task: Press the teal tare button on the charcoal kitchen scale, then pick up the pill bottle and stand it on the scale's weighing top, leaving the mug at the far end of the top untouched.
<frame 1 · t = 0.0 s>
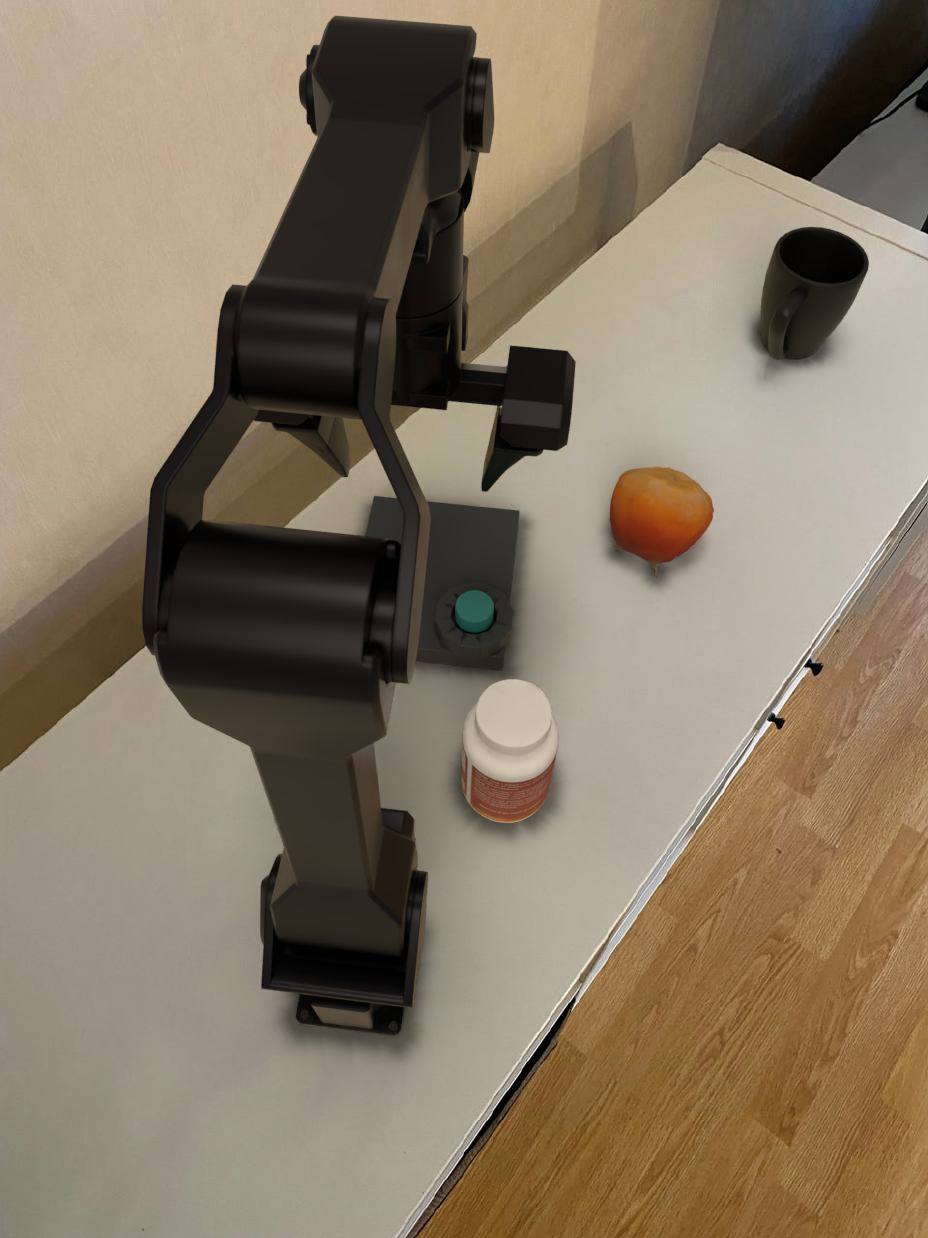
hand: (415, 479, 63), 15 cm above the table, tool pointing down, fingers open, 9 cm apart
scale: (435, 586, 77), on the table
pill bottle: (504, 784, 68), on the table
mug: (779, 352, 92), on the table
tare button: (474, 611, 71), point 4 cm above the table, slide at 0.1 cm
fruit: (650, 539, 80), on the table
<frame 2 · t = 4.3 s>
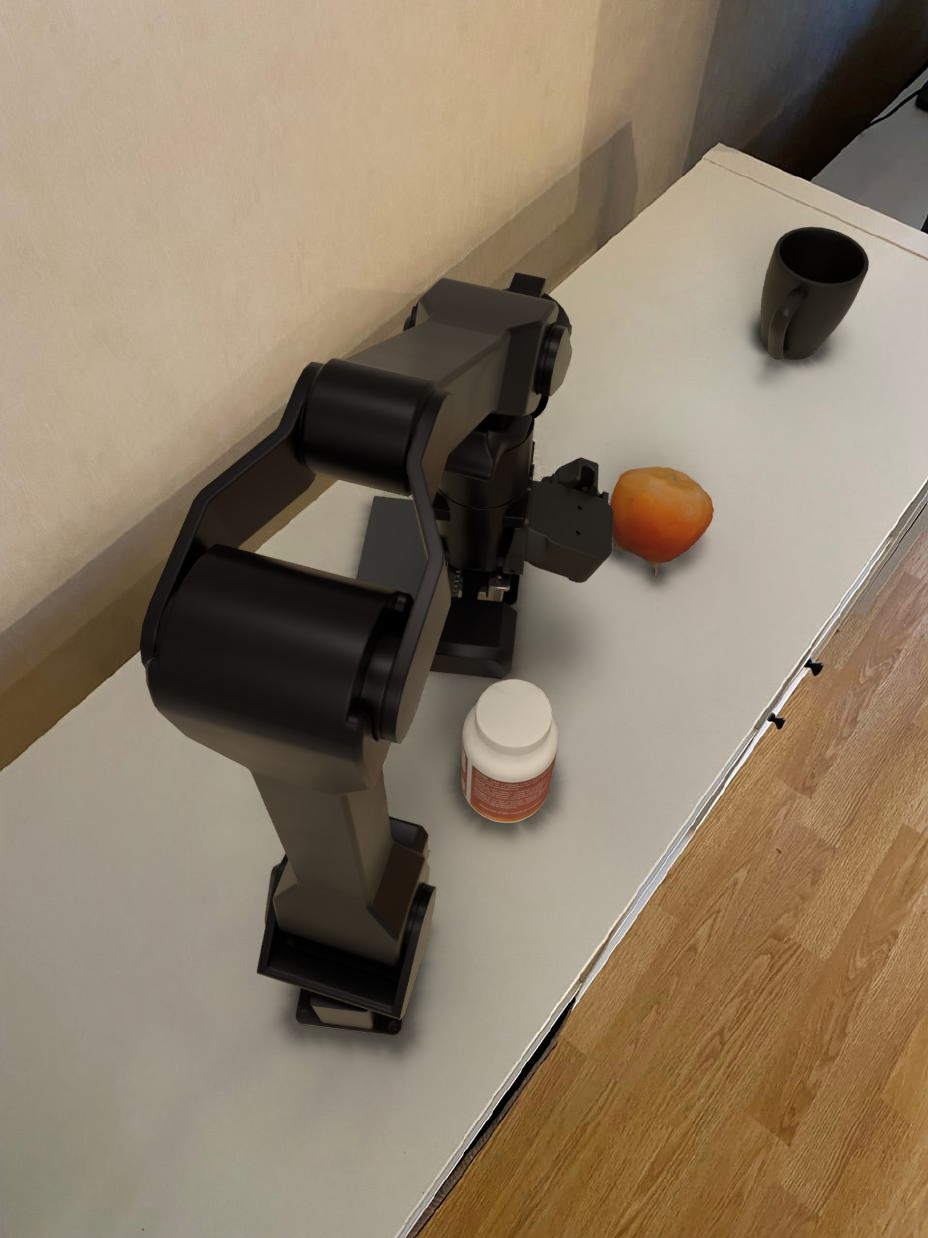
hand: (474, 612, 71), 4 cm above the table, tool pointing down, fingers closed, pressing on tare button
tare button: (474, 618, 71), point 3 cm above the table, slide at -0.8 cm, touching gripper
everything else where it was.
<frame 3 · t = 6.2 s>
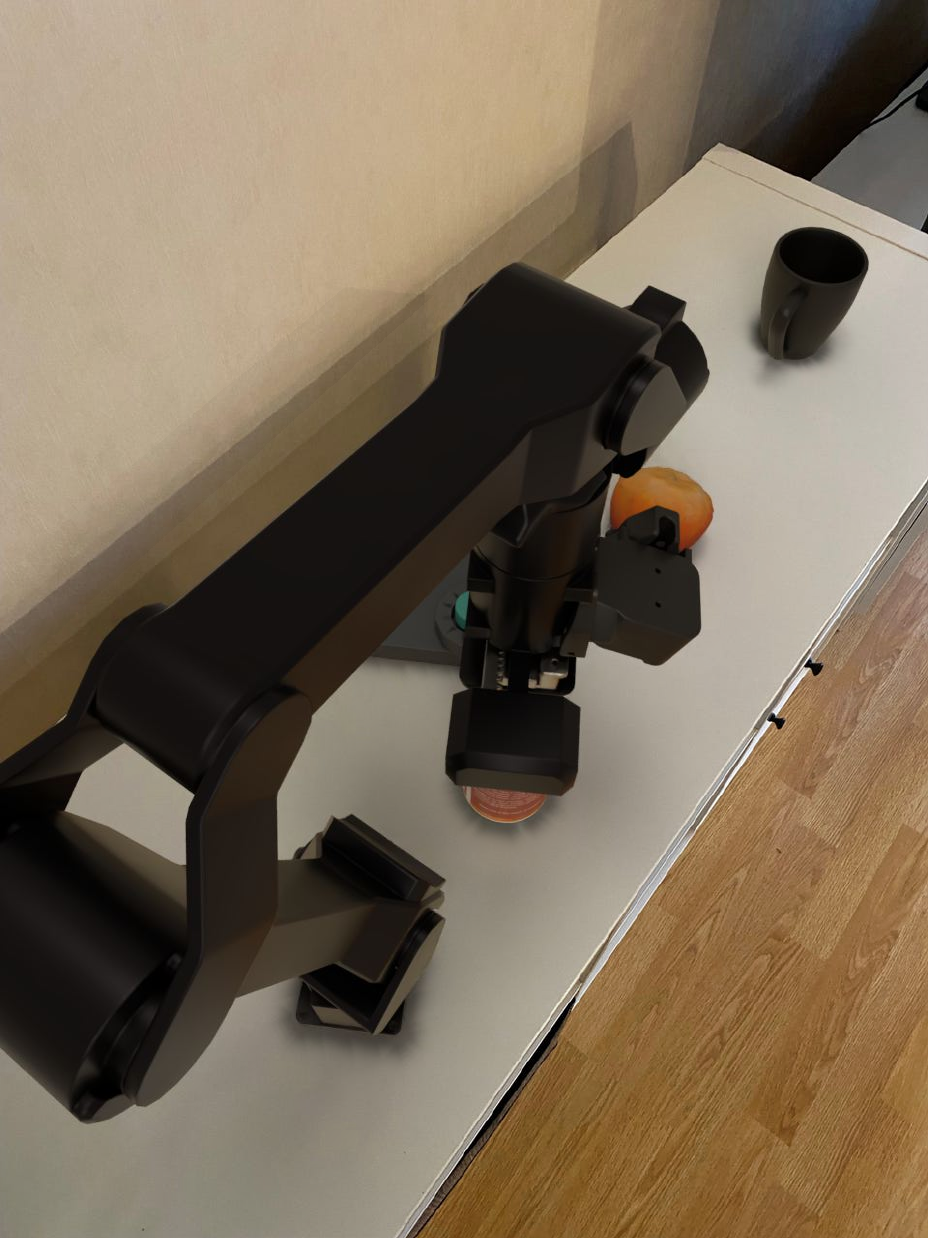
hand: (512, 692, 57), 13 cm above the table, tool pointing down, fingers closed
tare button: (474, 611, 71), point 4 cm above the table, slide at 0.1 cm
everything else where it was.
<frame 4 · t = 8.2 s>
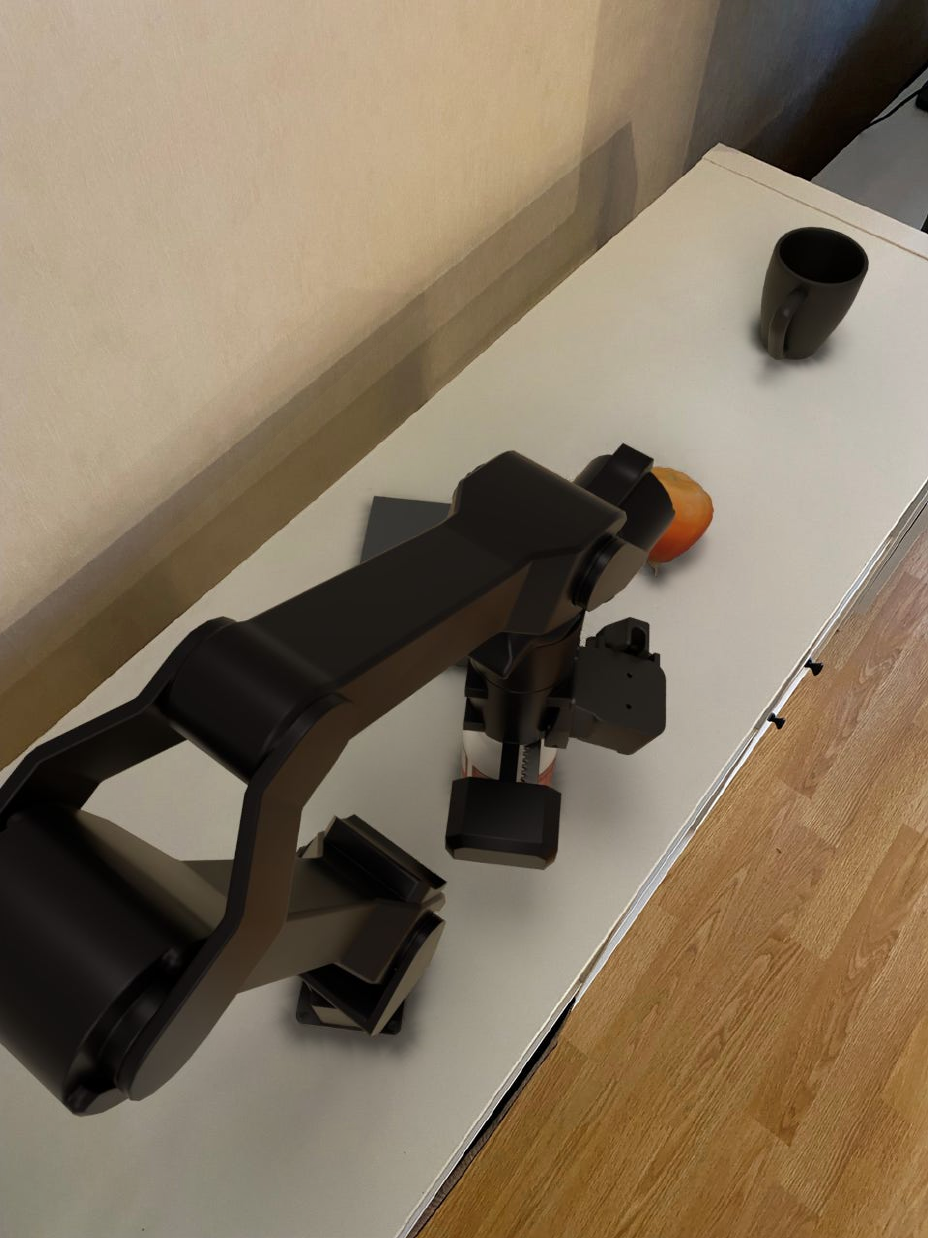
hand: (506, 764, 65), 3 cm above the table, tool pointing down
pill bottle: (504, 784, 68), on the table, touching gripper
everything else where it was.
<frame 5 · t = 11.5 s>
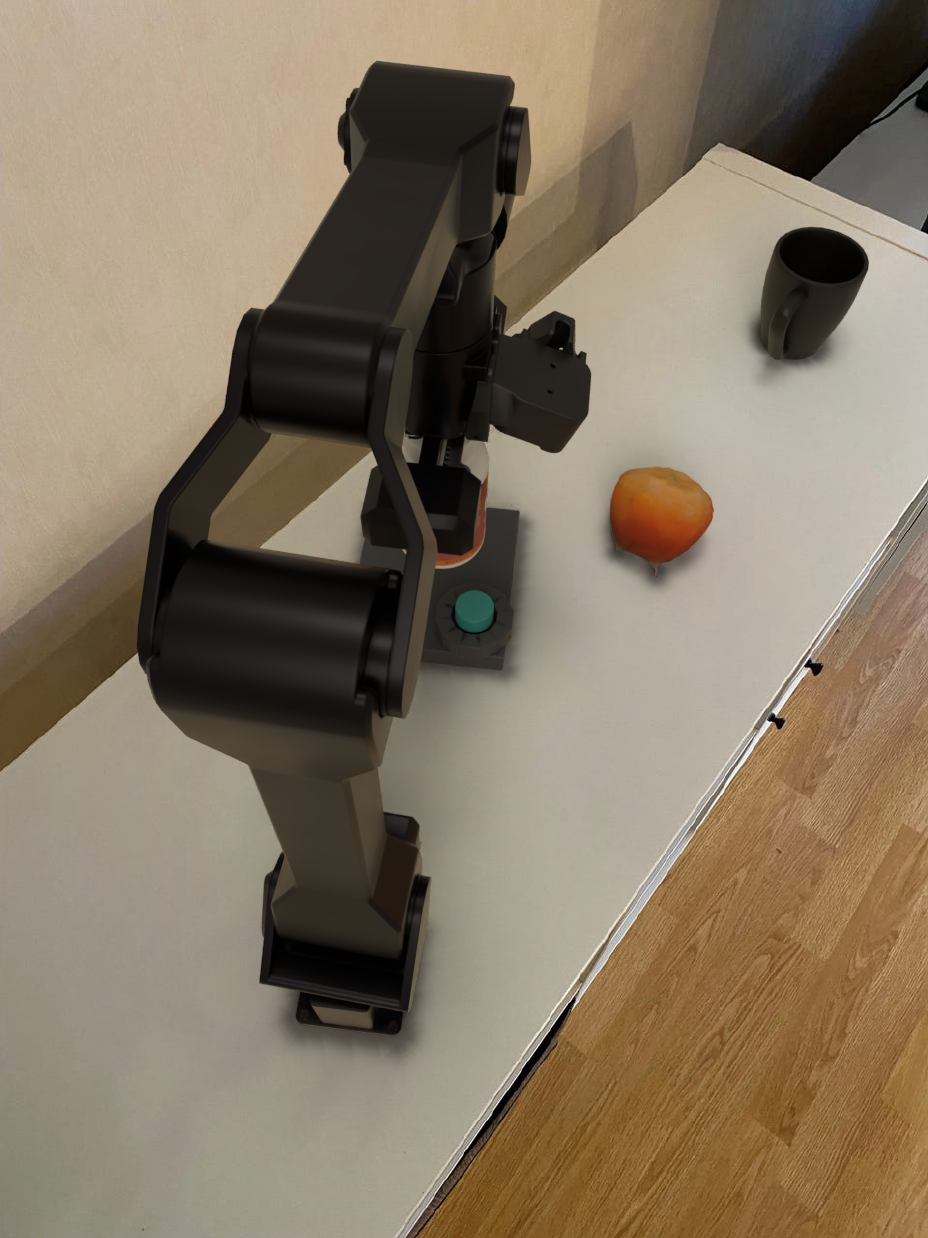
hand: (440, 502, 64), 13 cm above the table, tool pointing down, fingers closed on pill bottle, 6 cm apart
pill bottle: (440, 537, 67), point 9 cm above the table, touching gripper
everything else where it was.
when the fingers open (6 cm above the table, at t = 14.4 s): pill bottle stays where it is, resting on scale.
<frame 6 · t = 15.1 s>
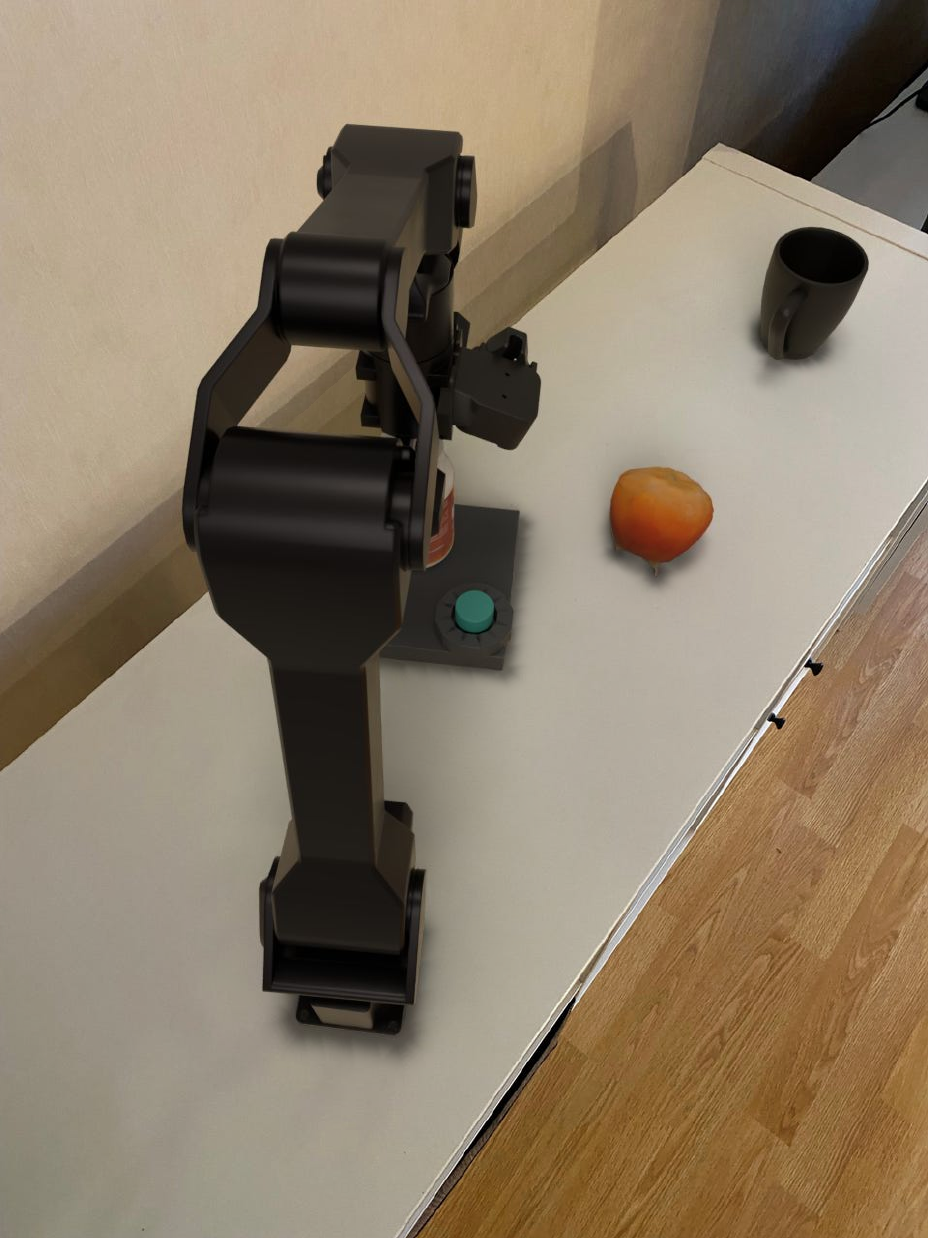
hand: (413, 495, 72), 7 cm above the table, tool pointing down, fingers open, 9 cm apart
pill bottle: (415, 542, 77), point 2 cm above the table, touching scale
everything else where it was.
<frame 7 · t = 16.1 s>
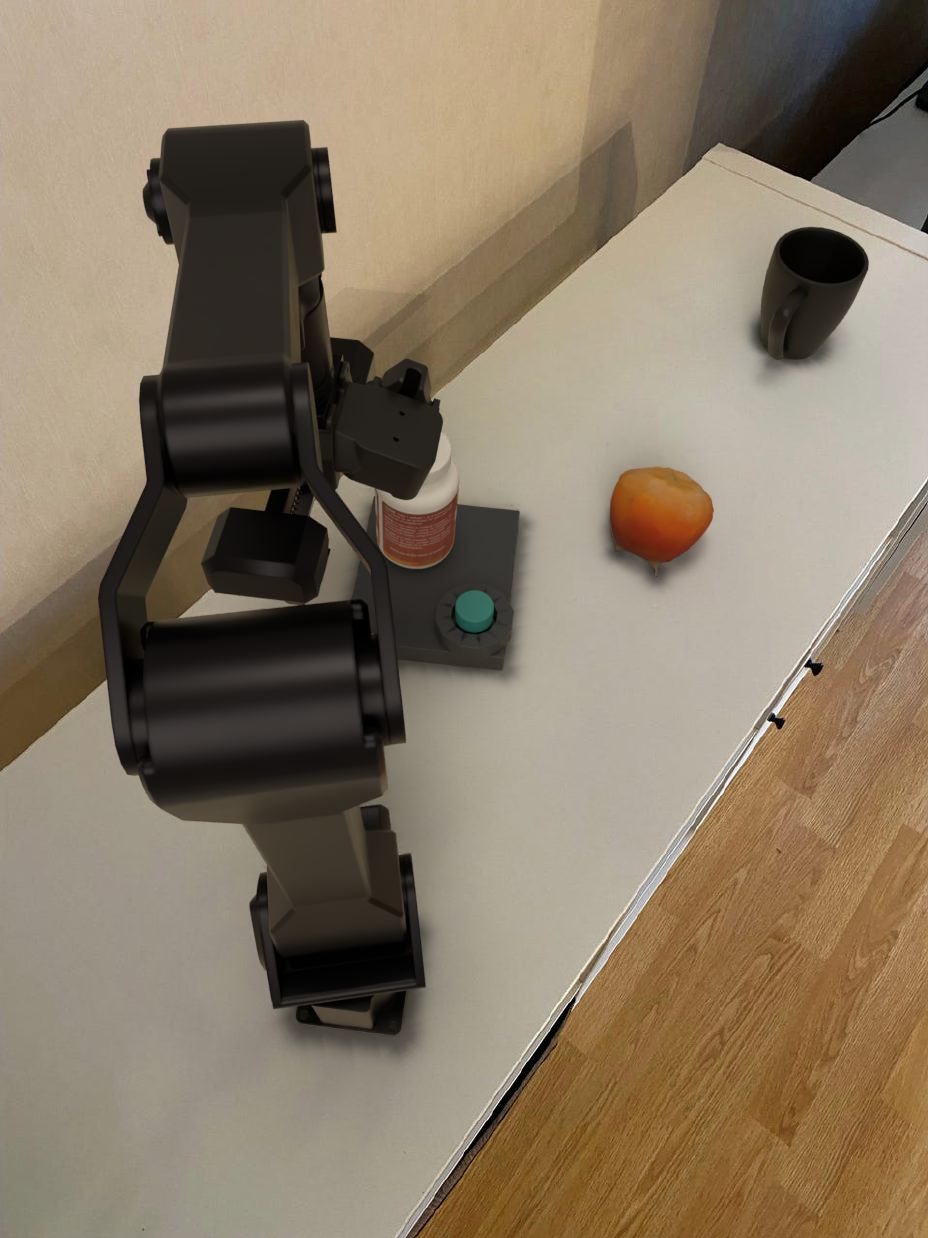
hand: (312, 546, 64), 12 cm above the table, tool pointing down, fingers open, 9 cm apart
nothing on the table moved.
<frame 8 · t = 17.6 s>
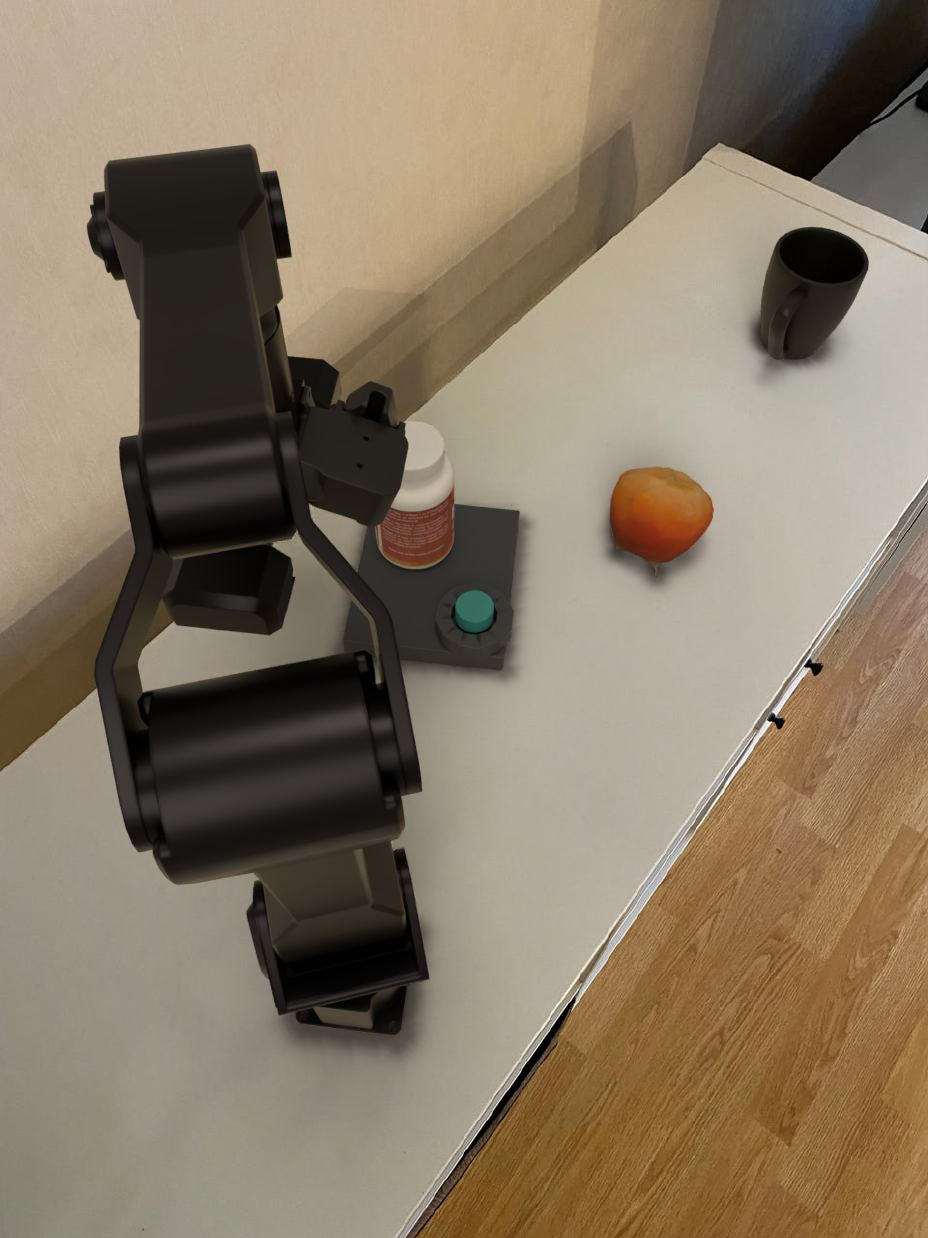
hand: (280, 568, 63), 12 cm above the table, tool pointing down, fingers open, 9 cm apart
nothing on the table moved.
at the end: tare button pushed in 0.9 cm at the most during the clip, back to where it started at the end; pill bottle inside the target area on the scale (1.4 cm from its centre), point 1.7 cm above the scale's base; mug moved 0.2 cm from its start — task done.
